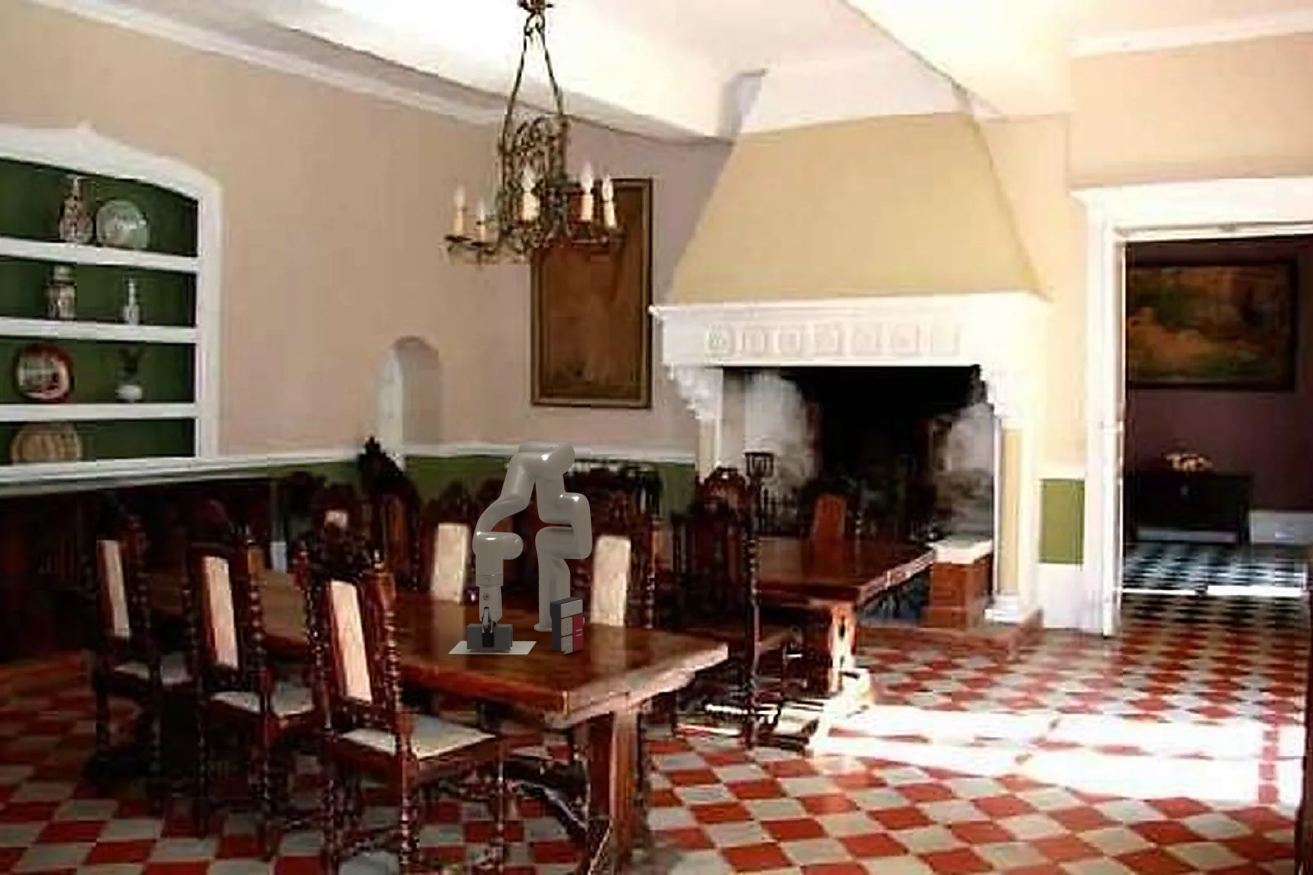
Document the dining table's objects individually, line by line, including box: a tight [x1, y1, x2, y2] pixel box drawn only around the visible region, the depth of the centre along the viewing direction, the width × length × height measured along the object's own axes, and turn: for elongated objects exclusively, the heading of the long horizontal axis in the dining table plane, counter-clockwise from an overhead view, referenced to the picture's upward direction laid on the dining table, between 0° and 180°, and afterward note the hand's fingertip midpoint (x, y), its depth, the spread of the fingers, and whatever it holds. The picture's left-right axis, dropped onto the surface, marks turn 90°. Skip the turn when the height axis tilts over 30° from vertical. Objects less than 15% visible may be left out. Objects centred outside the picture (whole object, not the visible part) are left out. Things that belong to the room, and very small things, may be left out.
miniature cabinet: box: [550, 596, 584, 656], centre depth 393 cm, size 11×4×15 cm, turn 148°
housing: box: [466, 623, 513, 650], centre depth 388 cm, size 12×5×6 cm, turn 87°
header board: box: [448, 640, 537, 661], centre depth 394 cm, size 22×18×6 cm
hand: (489, 644), depth 388 cm, fingers closed on housing, 4 cm apart
